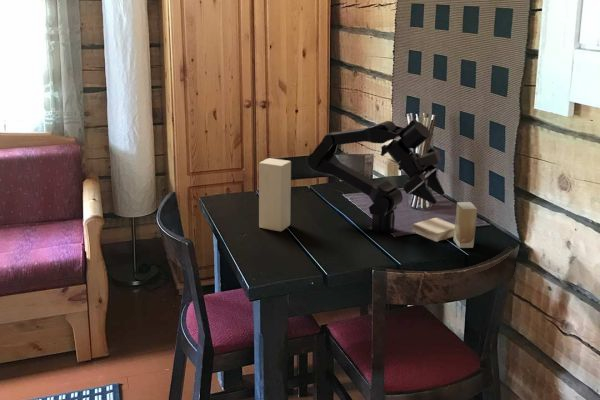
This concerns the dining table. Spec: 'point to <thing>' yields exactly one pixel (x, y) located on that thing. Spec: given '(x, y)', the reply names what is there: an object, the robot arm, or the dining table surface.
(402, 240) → the dining table surface
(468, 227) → the skincare box
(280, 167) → the beige tall rectangular block
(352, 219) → the dining table surface
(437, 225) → the birch block
